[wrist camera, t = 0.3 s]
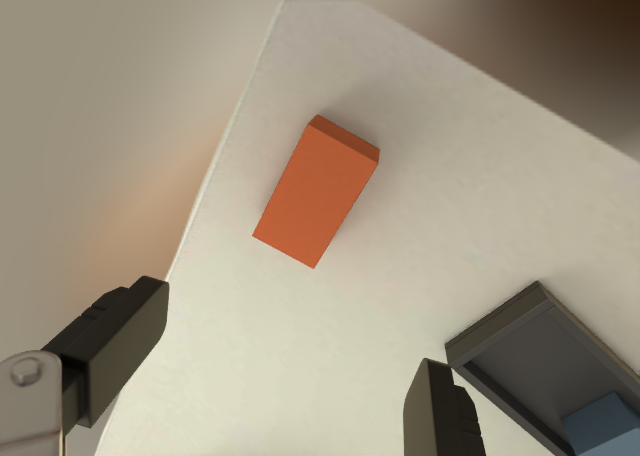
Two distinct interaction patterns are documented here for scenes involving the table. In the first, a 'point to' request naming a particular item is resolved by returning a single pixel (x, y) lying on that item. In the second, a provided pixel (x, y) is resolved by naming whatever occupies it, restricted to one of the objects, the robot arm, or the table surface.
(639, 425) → the seated pad
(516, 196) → the table surface
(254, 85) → the table surface
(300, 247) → the orange block
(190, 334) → the table surface
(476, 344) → the frame
